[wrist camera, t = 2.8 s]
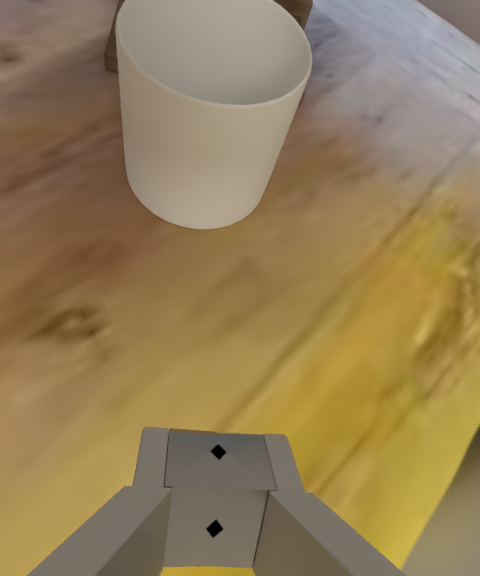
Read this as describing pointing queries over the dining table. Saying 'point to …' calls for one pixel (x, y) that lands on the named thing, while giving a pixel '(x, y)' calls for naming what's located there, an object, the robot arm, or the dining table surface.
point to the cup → (206, 103)
